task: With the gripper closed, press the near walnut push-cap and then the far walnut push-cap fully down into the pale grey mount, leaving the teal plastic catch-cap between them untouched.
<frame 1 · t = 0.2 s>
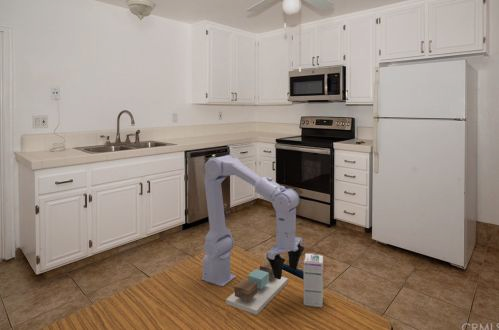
hand: (285, 273, 97), 10 cm above the table, tool pointing down, fingers open, 7 cm apart
syrup box: (313, 301, 99), on the table
near walnut button: (246, 289, 98), point 5 cm above the table, slide at 0.0 cm
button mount: (258, 292, 105), on the table
far walnut button: (269, 268, 110), point 5 cm above the table, slide at 0.0 cm
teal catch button: (258, 278, 104), point 5 cm above the table, slide at 0.0 cm
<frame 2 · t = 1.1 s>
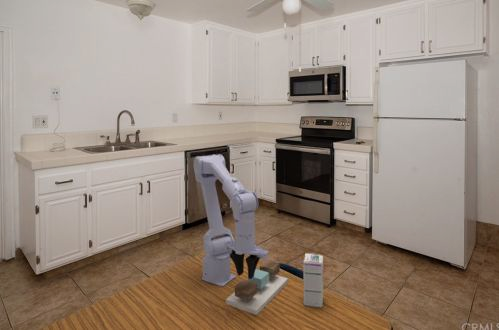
hand: (245, 275, 97), 9 cm above the table, tool pointing down, fingers open, 3 cm apart
nothing on the table moved.
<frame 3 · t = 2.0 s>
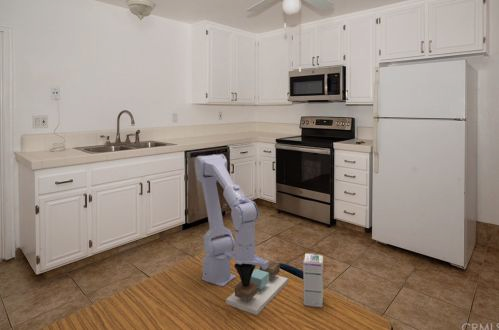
hand: (246, 284, 97), 6 cm above the table, tool pointing down, fingers closed, pressing on near walnut button
near walnut button: (246, 289, 98), point 5 cm above the table, slide at 0.0 cm, touching gripper
everything else where it was.
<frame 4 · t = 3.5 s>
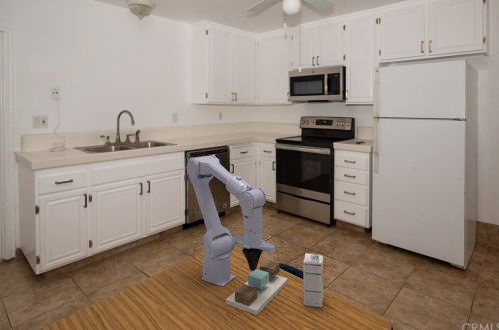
hand: (253, 269, 100), 10 cm above the table, tool pointing down, fingers closed
near walnut button: (246, 294, 98), point 3 cm above the table, slide at 1.7 cm
everything else where it was.
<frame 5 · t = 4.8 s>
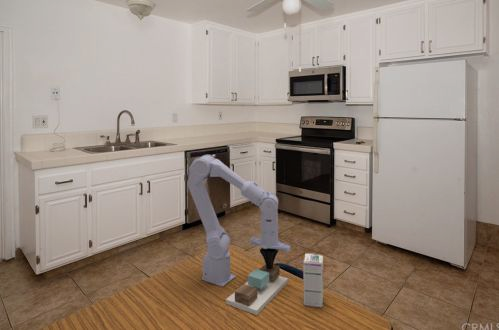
hand: (269, 267, 110), 5 cm above the table, tool pointing down, fingers closed, pressing on far walnut button
far walnut button: (269, 272, 110), point 4 cm above the table, slide at 1.1 cm, touching gripper
everything else where it was.
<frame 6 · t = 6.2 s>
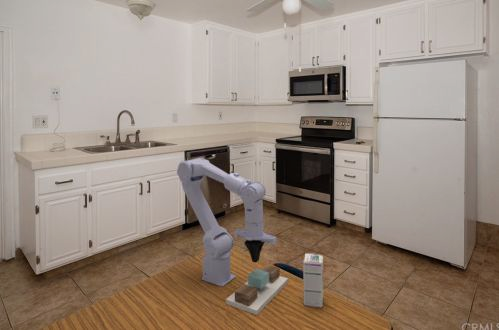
hand: (255, 261, 104), 10 cm above the table, tool pointing down, fingers closed
far walnut button: (269, 273, 110), point 3 cm above the table, slide at 1.7 cm
everything else where it was.
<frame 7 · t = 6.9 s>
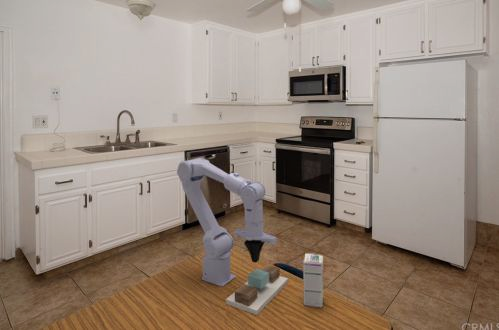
hand: (255, 261, 104), 10 cm above the table, tool pointing down, fingers closed
nothing on the table moved.
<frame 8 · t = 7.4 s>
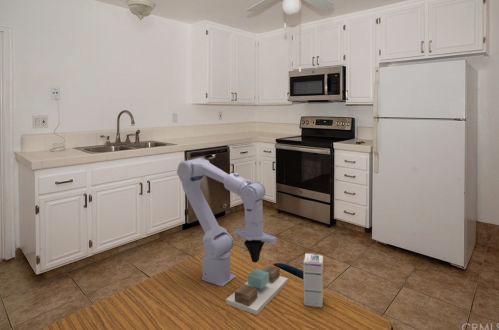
hand: (255, 261, 104), 10 cm above the table, tool pointing down, fingers closed
nothing on the table moved.
at the end: near walnut button slide at 1.7 cm; far walnut button slide at 1.7 cm; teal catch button slide at 0.0 cm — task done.
